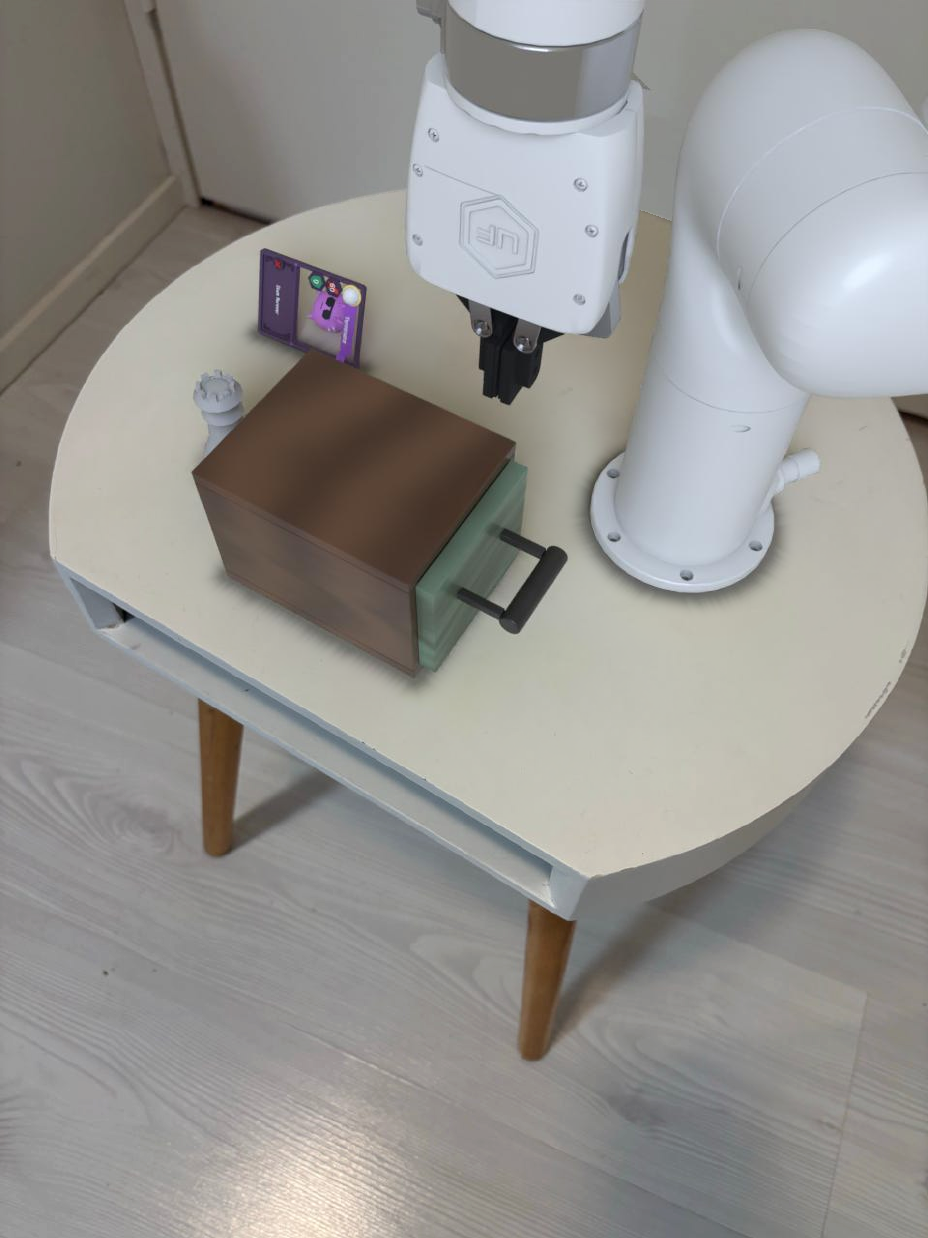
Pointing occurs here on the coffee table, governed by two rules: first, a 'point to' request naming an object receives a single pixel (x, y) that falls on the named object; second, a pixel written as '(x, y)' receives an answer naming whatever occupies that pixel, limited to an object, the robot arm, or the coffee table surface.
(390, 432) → the cabinet
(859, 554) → the coffee table surface
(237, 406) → the rook chess piece
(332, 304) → the game card
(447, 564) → the drawer
